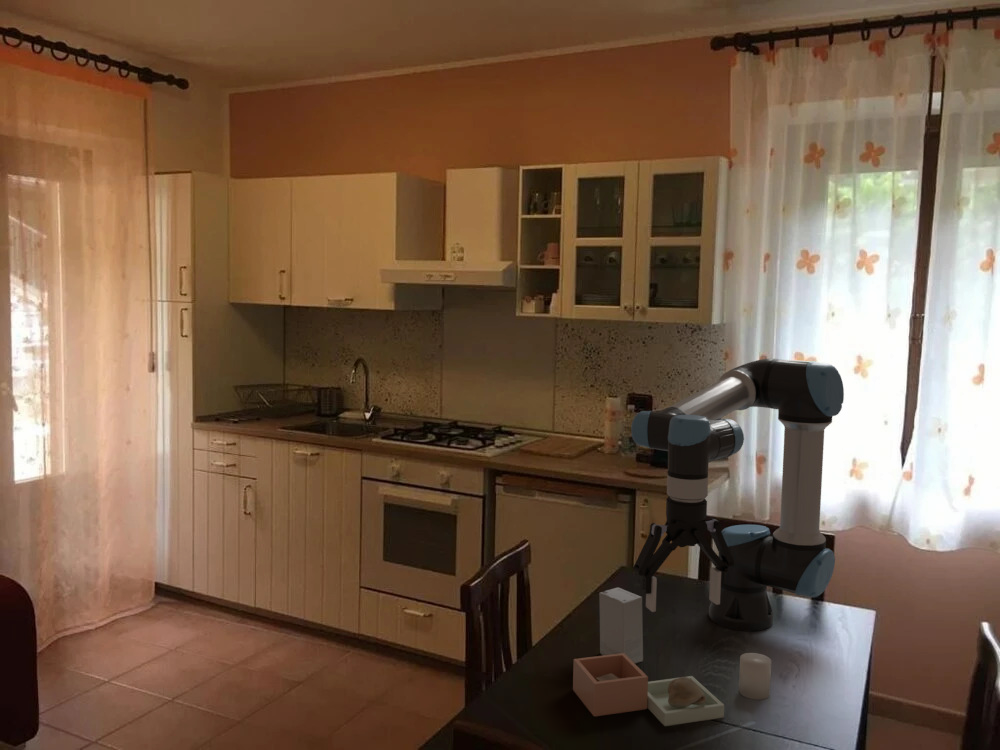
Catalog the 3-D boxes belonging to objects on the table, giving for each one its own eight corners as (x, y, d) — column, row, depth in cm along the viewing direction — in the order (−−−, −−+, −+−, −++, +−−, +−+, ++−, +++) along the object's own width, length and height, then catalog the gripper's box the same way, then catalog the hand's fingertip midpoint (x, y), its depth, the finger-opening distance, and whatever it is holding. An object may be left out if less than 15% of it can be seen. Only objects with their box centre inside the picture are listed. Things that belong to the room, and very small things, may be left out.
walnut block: (610, 692, 172) (611, 673, 171) (623, 700, 168) (624, 681, 168) (594, 697, 170) (595, 677, 169) (607, 705, 166) (608, 686, 166)
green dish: (691, 690, 174) (692, 675, 174) (723, 720, 163) (724, 705, 162) (635, 697, 171) (636, 683, 171) (664, 729, 159) (665, 713, 159)
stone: (705, 715, 166) (675, 685, 171) (716, 692, 163) (685, 662, 168) (683, 728, 162) (653, 697, 167) (694, 704, 159) (662, 674, 164)
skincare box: (643, 663, 186) (645, 597, 185) (622, 670, 183) (624, 602, 181) (617, 649, 193) (619, 585, 192) (597, 655, 190) (598, 590, 188)
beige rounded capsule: (758, 683, 177) (760, 651, 177) (775, 697, 172) (777, 664, 171) (733, 687, 176) (734, 654, 175) (749, 701, 170) (750, 667, 169)
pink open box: (623, 685, 176) (624, 653, 175) (646, 711, 165) (648, 677, 165) (572, 692, 173) (573, 659, 172) (593, 719, 162) (594, 684, 162)
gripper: (734, 488, 169) (730, 592, 172) (617, 496, 162) (615, 604, 165) (755, 498, 162) (751, 606, 165) (634, 507, 155) (631, 619, 158)
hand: (683, 605), depth 165 cm, fingers open, 13 cm apart
